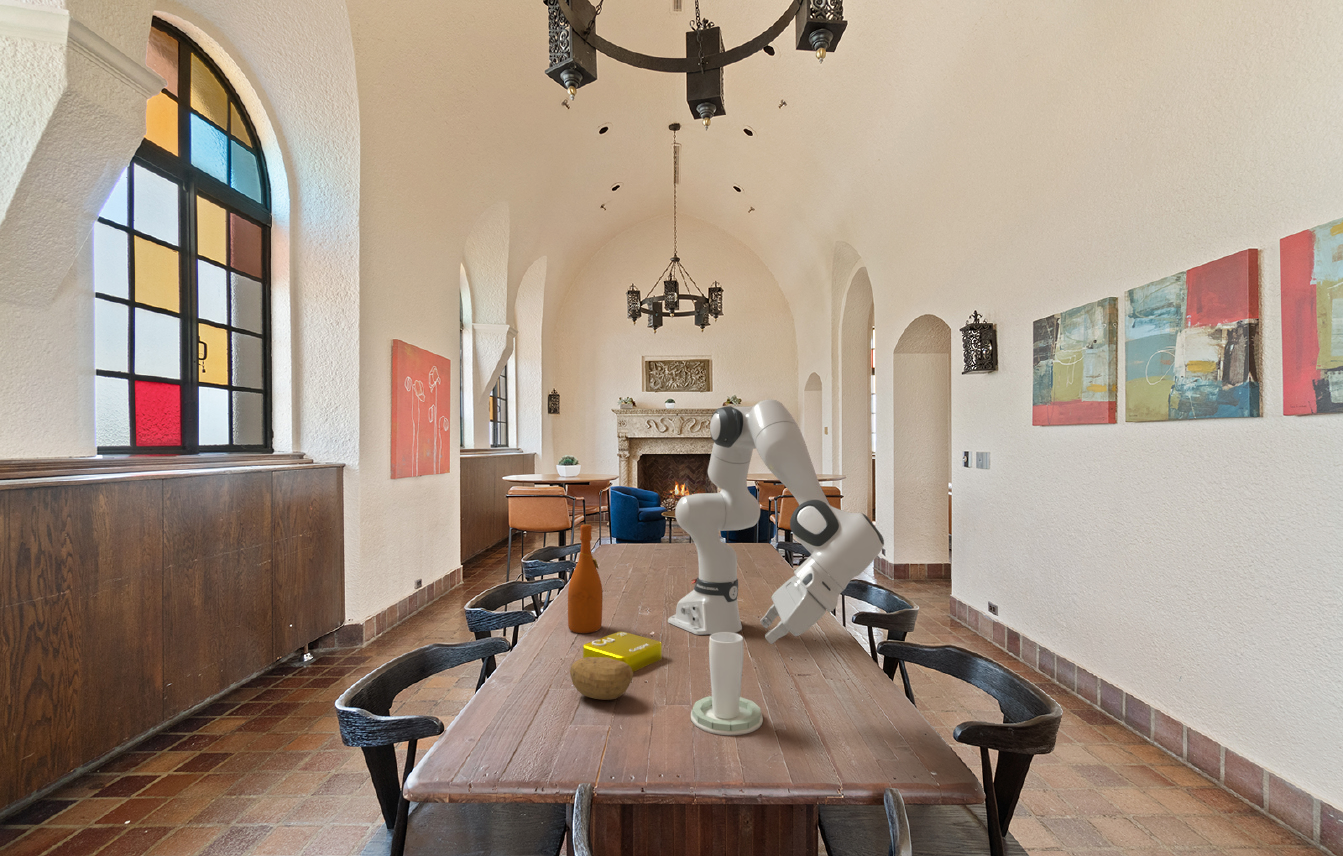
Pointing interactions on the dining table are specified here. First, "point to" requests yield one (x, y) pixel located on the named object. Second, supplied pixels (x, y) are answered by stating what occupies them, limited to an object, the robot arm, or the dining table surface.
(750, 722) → the green rimmed plate
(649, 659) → the element tile
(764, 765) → the dining table surface
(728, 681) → the drinking glass
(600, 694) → the potato
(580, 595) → the wine bottle
